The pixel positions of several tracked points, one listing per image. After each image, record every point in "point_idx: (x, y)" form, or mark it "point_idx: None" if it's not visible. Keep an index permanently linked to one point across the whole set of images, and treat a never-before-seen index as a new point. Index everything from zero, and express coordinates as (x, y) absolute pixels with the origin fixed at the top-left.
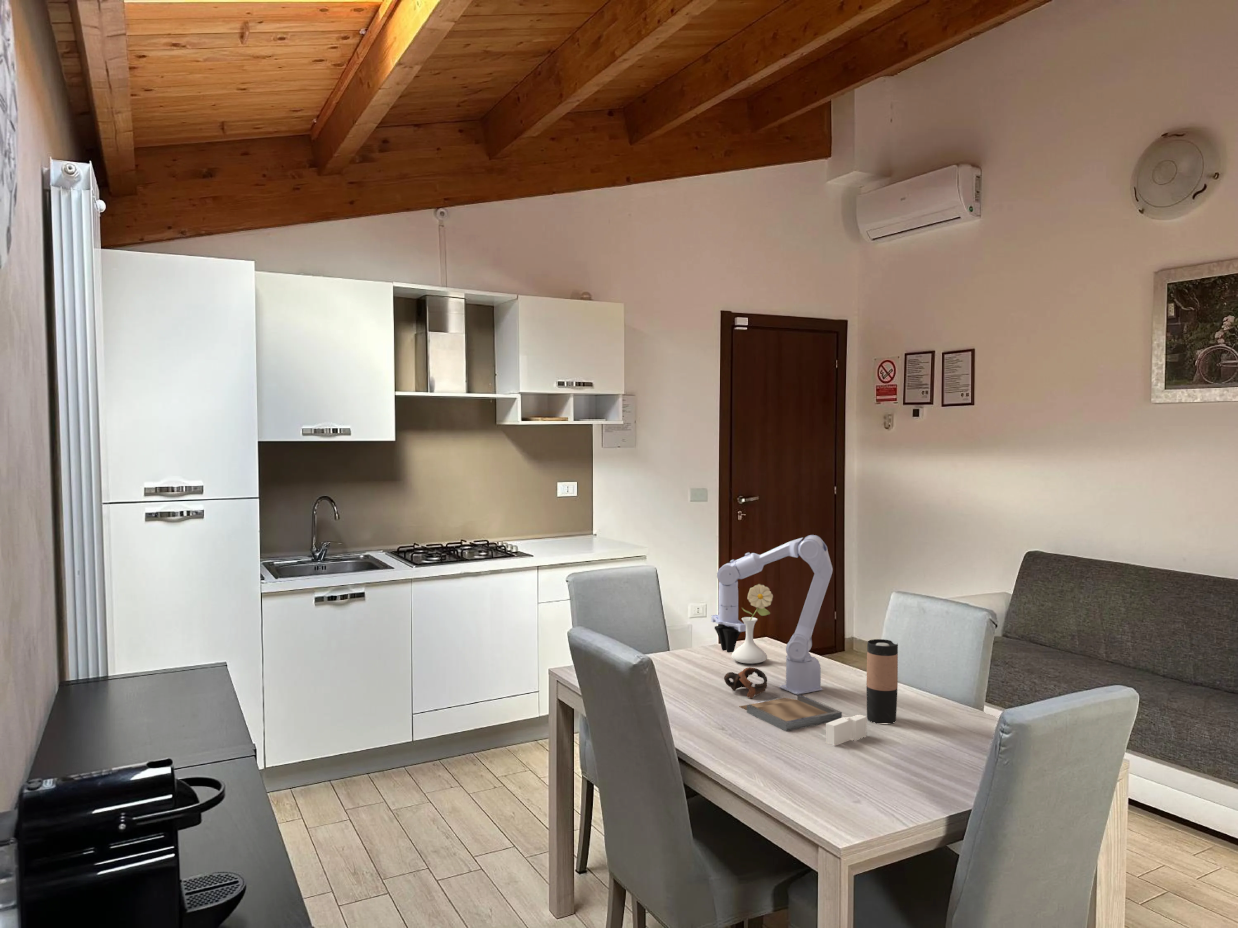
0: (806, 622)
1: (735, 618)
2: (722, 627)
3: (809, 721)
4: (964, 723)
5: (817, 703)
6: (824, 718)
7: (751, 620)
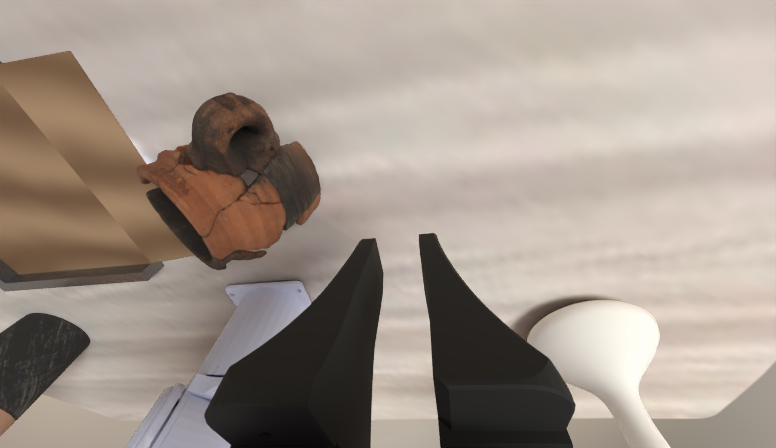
0: None
1: None
2: (447, 424)
3: None
4: (78, 395)
5: (68, 279)
6: None
7: None
